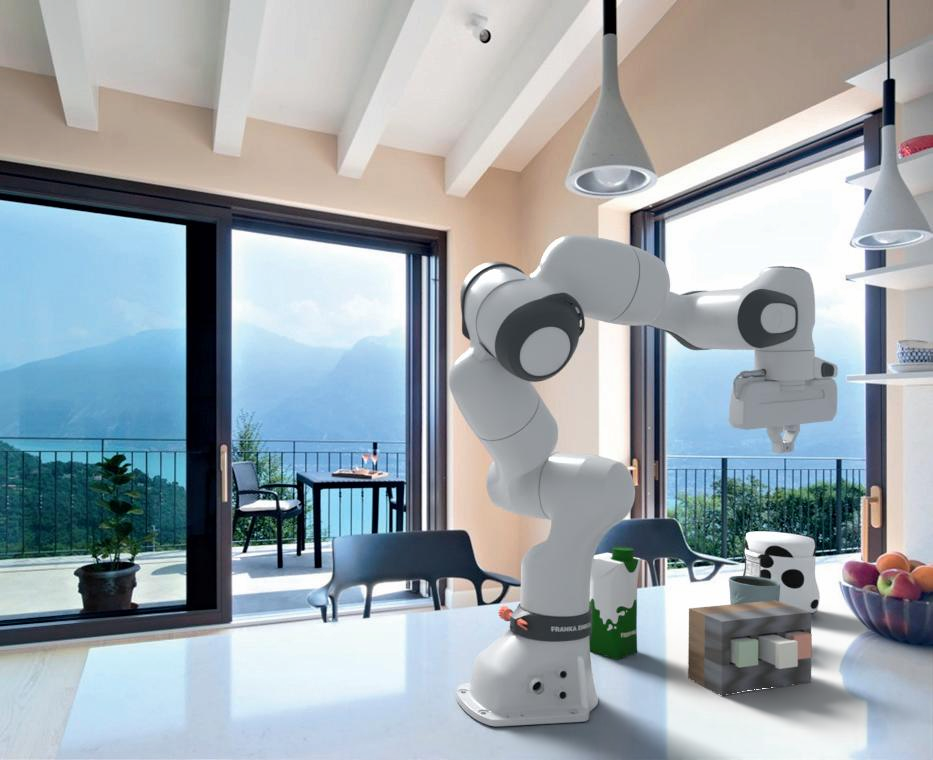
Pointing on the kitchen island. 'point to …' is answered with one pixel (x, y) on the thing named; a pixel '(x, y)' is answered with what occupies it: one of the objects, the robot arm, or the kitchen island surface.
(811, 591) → the milk container
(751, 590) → the blue-grey cup
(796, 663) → the cream button
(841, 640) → the kitchen island surface
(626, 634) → the milk carton
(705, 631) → the console
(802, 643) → the coral button
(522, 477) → the robot arm
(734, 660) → the sage button
